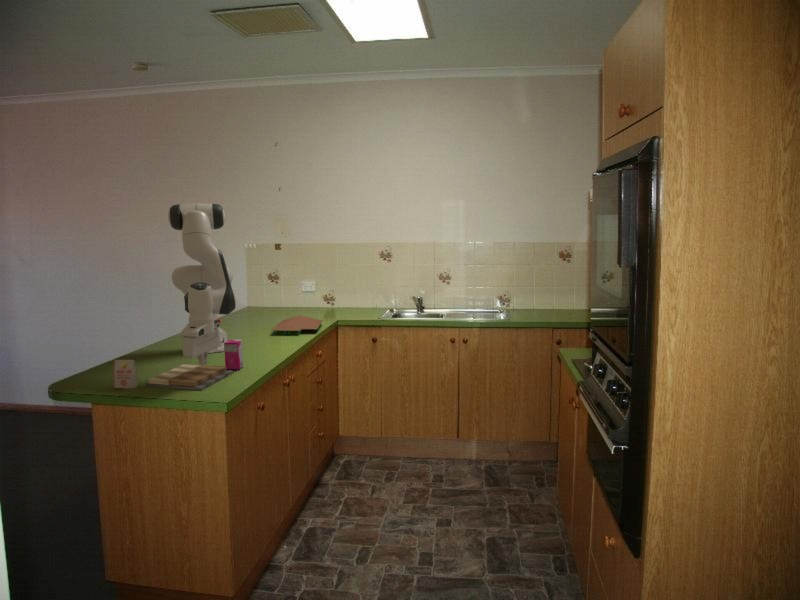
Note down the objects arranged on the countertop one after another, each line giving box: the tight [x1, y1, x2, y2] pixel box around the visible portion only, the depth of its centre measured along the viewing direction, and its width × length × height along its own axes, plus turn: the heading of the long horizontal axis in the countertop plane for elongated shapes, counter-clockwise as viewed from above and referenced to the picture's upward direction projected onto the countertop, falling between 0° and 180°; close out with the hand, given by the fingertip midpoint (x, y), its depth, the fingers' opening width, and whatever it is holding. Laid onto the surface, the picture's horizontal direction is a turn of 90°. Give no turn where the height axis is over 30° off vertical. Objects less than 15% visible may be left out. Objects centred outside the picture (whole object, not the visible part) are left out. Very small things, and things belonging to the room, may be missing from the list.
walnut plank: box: [169, 364, 226, 386], centre depth 209 cm, size 22×10×2 cm, turn 169°
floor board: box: [145, 363, 234, 392], centre depth 210 cm, size 23×22×3 cm
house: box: [271, 314, 324, 336], centre depth 307 cm, size 23×33×8 cm
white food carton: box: [112, 359, 139, 390], centre depth 199 cm, size 4×7×10 cm, turn 91°
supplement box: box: [223, 339, 244, 371], centre depth 225 cm, size 6×6×12 cm
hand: (203, 363), depth 209 cm, fingers closed
